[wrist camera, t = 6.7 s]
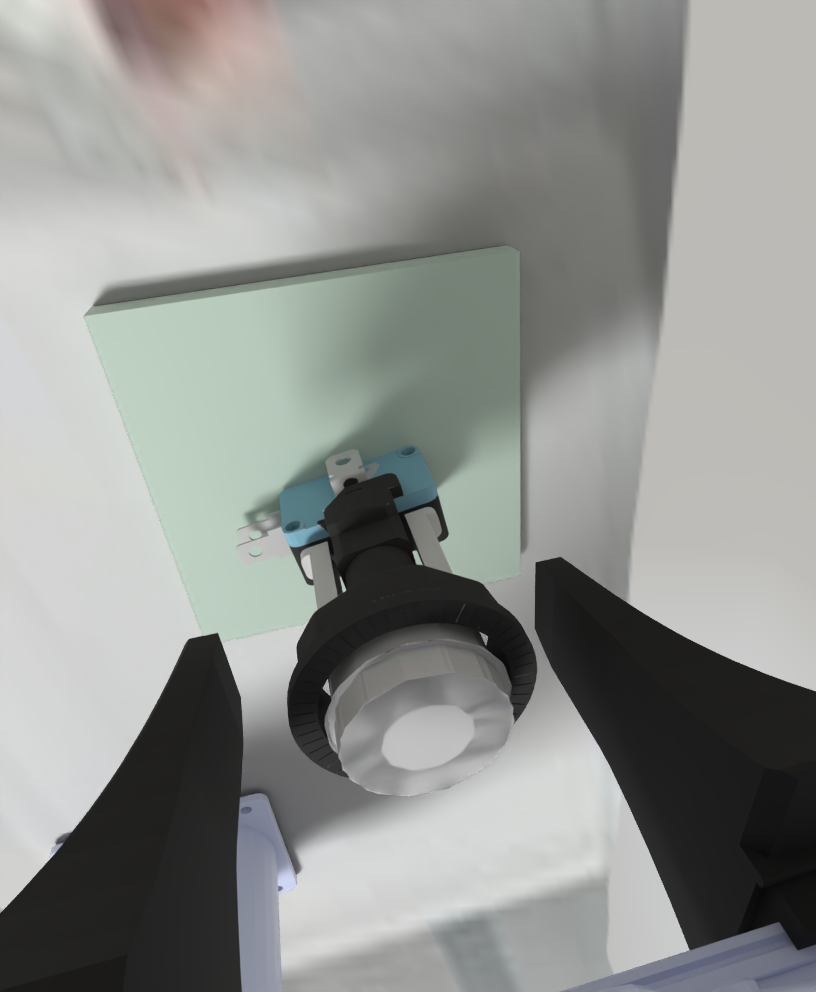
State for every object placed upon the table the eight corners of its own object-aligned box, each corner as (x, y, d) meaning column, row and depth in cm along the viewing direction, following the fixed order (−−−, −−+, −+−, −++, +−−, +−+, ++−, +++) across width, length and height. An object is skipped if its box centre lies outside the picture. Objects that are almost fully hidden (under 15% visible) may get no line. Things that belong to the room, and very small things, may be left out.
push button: (269, 587, 22) (283, 874, 14) (204, 460, 19) (171, 726, 11) (448, 524, 22) (569, 768, 14) (411, 390, 19) (536, 596, 11)
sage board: (207, 627, 24) (206, 645, 23) (91, 306, 17) (83, 316, 16) (511, 561, 25) (520, 576, 24) (507, 245, 19) (519, 250, 18)
